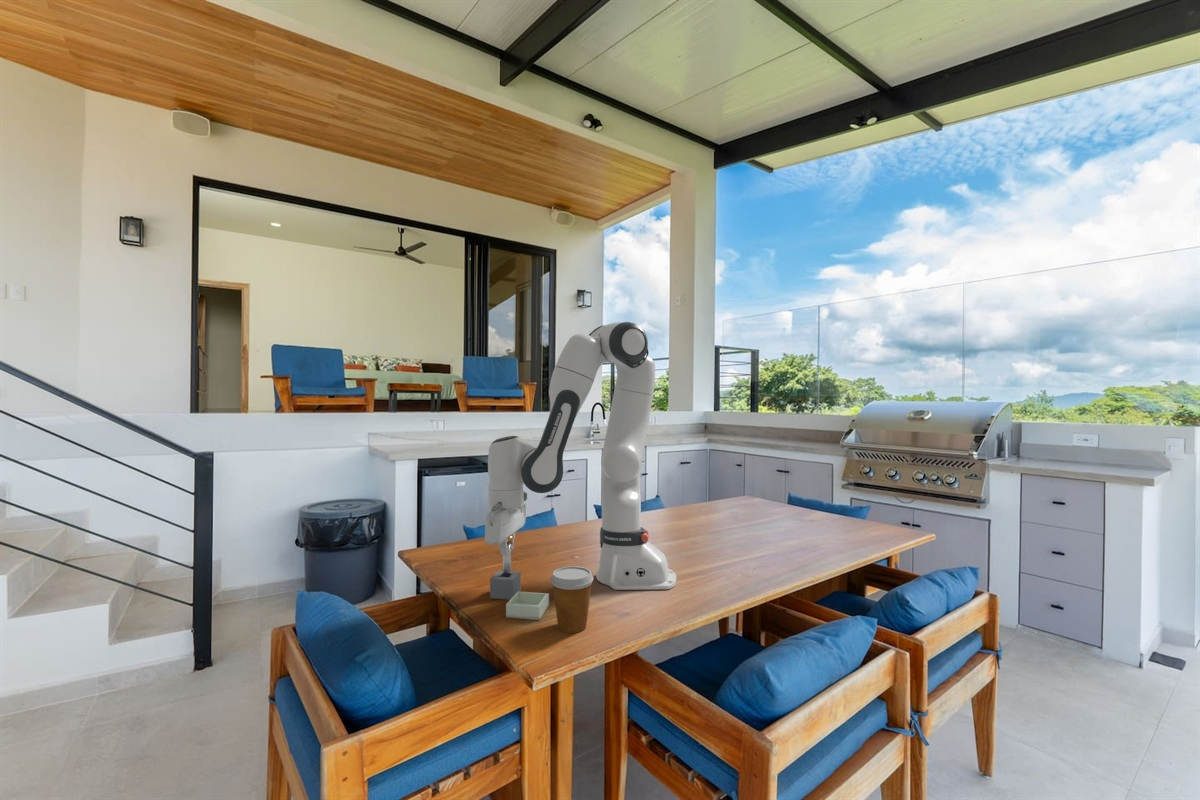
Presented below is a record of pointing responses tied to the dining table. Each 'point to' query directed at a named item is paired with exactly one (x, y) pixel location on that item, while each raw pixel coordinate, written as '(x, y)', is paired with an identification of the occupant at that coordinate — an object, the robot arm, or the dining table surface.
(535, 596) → the tray
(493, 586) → the pin block
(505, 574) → the pin
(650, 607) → the dining table surface
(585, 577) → the disposable coffee cup
